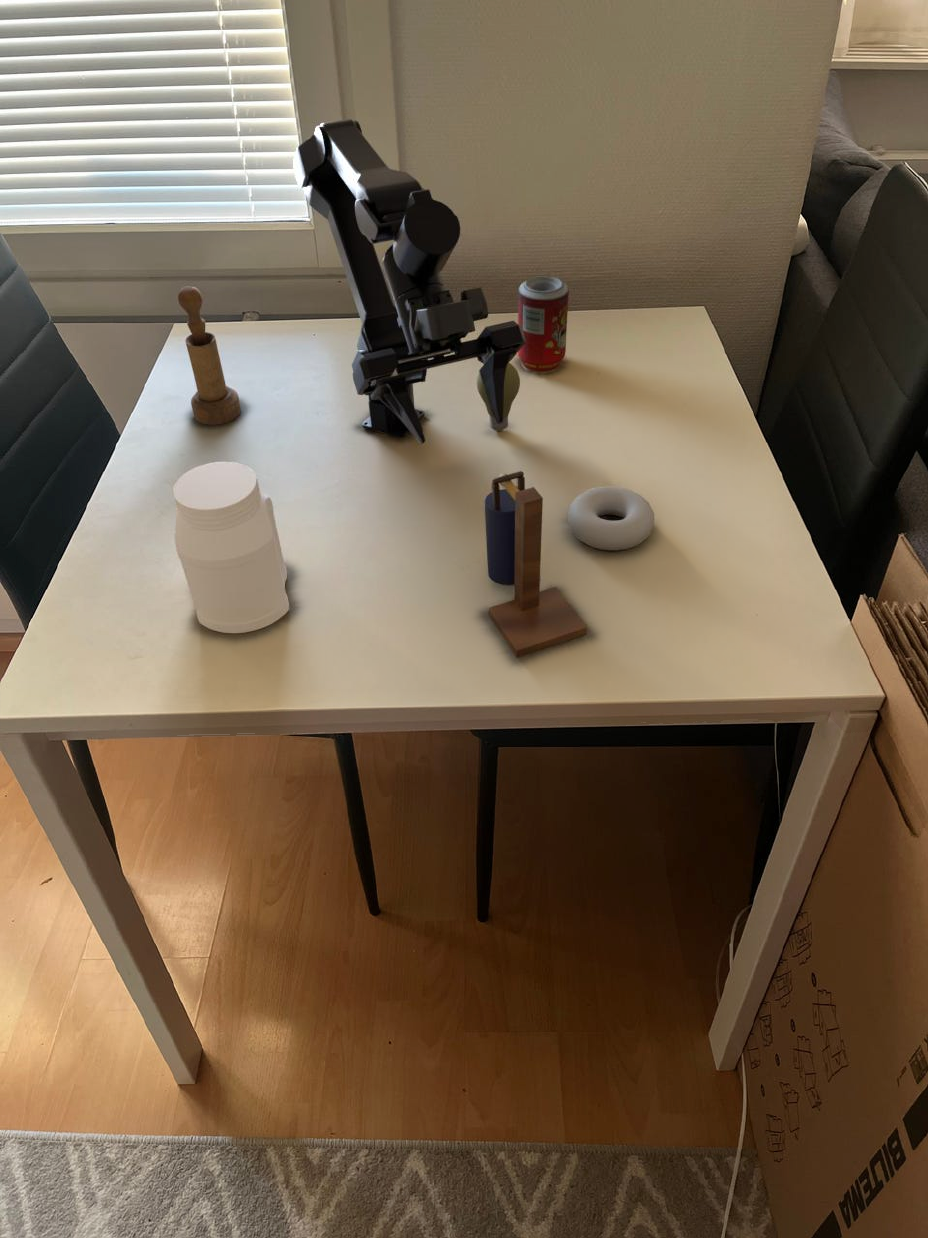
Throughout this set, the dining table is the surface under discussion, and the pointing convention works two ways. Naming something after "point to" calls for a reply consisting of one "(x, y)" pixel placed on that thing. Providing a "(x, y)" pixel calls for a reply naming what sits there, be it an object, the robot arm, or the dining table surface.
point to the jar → (229, 548)
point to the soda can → (543, 323)
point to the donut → (611, 532)
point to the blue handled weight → (501, 530)
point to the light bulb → (509, 395)
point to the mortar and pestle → (206, 367)
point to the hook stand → (532, 587)
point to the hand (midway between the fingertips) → (462, 432)
